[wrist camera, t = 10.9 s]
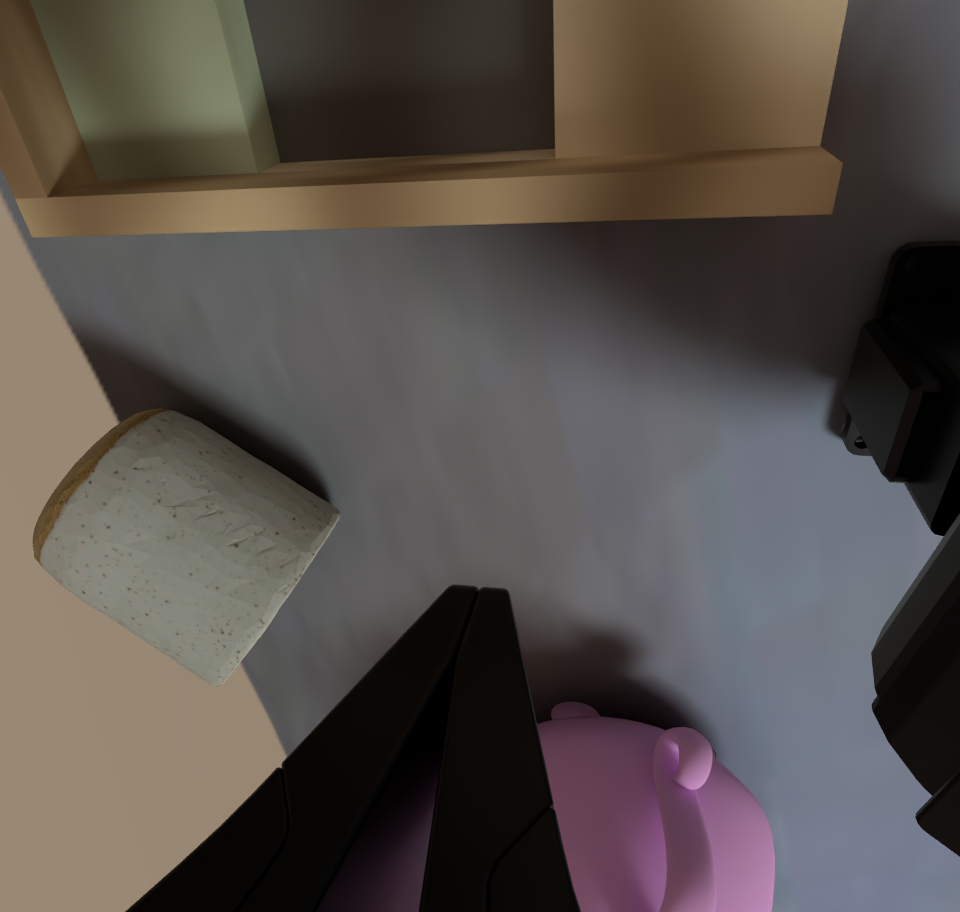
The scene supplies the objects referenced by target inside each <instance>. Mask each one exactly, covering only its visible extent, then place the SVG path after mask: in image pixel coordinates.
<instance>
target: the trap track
mask: <svg viewBox="0 0 960 912" xmlns="http://www.w3.org/2000/svg"><path fill="white" fill-rule="evenodd" d="M847 5H848V0H0V167H1V169H2V171H3V173H4V176H5V178H6V180H7V182H8V184H9V187H10V189H11V191H12V193H13V195H14V198H15V200H16V202H17V204H18V207H19V209H20V211H21V213H22V215H23V218H24V220H25V222H26V224H27V226H28V229H29V231H30V233H31V235H32V237H67V236H101V235H136V234H170V233H205V232H239V231H274V230H308V229H343V228H377V227H412V226H447V225H481V224H516V223H550V222H585V221H619V220H654V219H688V218H723V217H757V216H792V215H826V214H832V213H833V208H834V203H835V199H836V194H837V190H838V185H839V180H840V176H841V171H842V166H843V163H842V162H841V161H840V160H838V159H837V158H836V157H834V156H833V155H832V154H830V153H829V152H828V151H826V150H825V149H824V148H822V147H821V146H820V144H821V139H822V134H823V129H824V124H825V118H826V113H827V108H828V103H829V98H830V93H831V88H832V82H833V77H834V72H835V67H836V62H837V57H838V52H839V46H840V41H841V36H842V31H843V26H844V21H845V15H846V10H847Z"/></svg>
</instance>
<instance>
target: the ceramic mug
mask: <svg viewBox="0 0 960 912" xmlns="http://www.w3.org/2000/svg"><path fill="white" fill-rule="evenodd" d="M339 519H340V511H339V510H338V509H336V508H335V507H334V506H332V505H331V504H330V503H328V502H326V501H325V500H323V499H321V498H320V497H318V496H316V495H315V494H313V493H312V492H310V491H308V490H307V489H305V488H304V487H302V486H300V485H299V484H297V483H296V482H294V481H293V480H291V479H290V478H288V477H286V476H285V475H283V474H282V473H280V472H279V471H277V470H276V469H274V468H272V467H271V466H269V465H267V464H266V463H264V462H262V461H261V460H259V459H257V458H255V457H254V456H252V455H250V454H249V453H247V452H246V451H244V450H243V449H241V448H240V447H238V446H237V445H235V444H234V443H232V442H231V441H229V440H227V439H226V438H224V437H223V436H221V435H220V434H218V433H216V432H215V431H213V430H212V429H210V428H208V427H207V426H205V425H204V424H202V423H201V422H199V421H197V420H194V419H192V418H190V417H188V416H185V415H183V414H181V413H178V412H175V411H172V410H169V409H163V408H156V409H151V410H147V411H143V412H139V413H135V414H134V415H132V416H130V417H129V418H127V419H125V420H124V421H123V422H121V423H120V424H118V425H117V426H115V427H114V428H113V429H111V430H110V431H109V432H108V433H107V434H105V435H104V436H103V437H102V438H101V439H100V440H99V441H97V442H96V443H95V444H94V445H93V446H92V447H91V448H90V449H89V450H88V451H87V452H86V453H85V454H84V456H83V457H82V458H81V459H80V460H79V461H78V462H77V463H76V464H75V465H74V466H73V467H72V469H71V470H70V471H69V472H68V474H67V475H66V476H65V477H64V479H63V480H62V481H61V483H60V484H59V486H58V487H57V488H56V489H55V491H54V492H53V494H52V495H51V497H50V498H49V500H48V502H47V503H46V505H45V507H44V509H43V511H42V512H41V514H40V516H39V518H38V521H37V523H36V526H35V529H34V535H33V549H34V557H35V559H36V560H37V561H38V562H39V563H40V565H41V566H42V567H43V568H44V569H45V570H46V571H47V572H48V573H49V574H50V575H51V576H52V577H53V578H54V579H55V580H56V581H57V582H58V583H59V584H60V585H62V586H63V587H64V588H65V589H67V590H68V591H69V592H71V593H72V594H74V595H75V596H76V597H78V598H79V599H81V600H82V601H83V602H85V603H86V604H88V605H89V606H91V607H93V608H95V609H97V610H98V611H100V612H102V613H104V614H105V615H107V616H108V617H110V618H112V619H113V620H114V621H116V622H117V623H119V624H120V625H122V626H123V627H125V628H126V629H128V630H129V631H131V632H132V633H134V634H135V635H137V636H138V637H140V638H141V639H143V640H144V641H146V642H147V643H149V644H150V645H151V646H153V647H155V648H156V649H157V650H159V651H161V652H162V653H164V654H165V655H167V656H168V657H170V658H171V659H173V660H174V661H176V662H177V663H179V664H180V665H181V666H183V667H185V668H186V669H188V670H189V671H191V672H192V673H194V674H195V675H197V676H198V677H200V678H201V679H203V680H204V681H206V682H207V683H209V684H211V685H214V686H219V685H221V684H223V683H224V682H226V681H227V679H228V678H229V676H230V675H231V674H232V673H233V671H234V669H236V668H237V667H238V665H239V663H240V662H241V661H242V659H243V658H244V657H245V656H246V654H247V653H248V652H249V651H250V649H251V648H252V647H253V646H254V644H255V643H256V642H257V640H258V639H259V638H260V637H261V635H262V634H263V632H264V631H265V630H266V628H267V627H268V625H269V624H270V623H271V621H272V620H273V618H274V616H275V615H276V613H277V612H278V610H279V608H280V607H281V605H282V604H283V603H284V601H285V600H286V599H287V598H288V596H289V595H290V593H291V592H292V590H293V589H294V587H295V586H296V584H297V583H298V581H299V580H300V578H301V577H302V575H303V573H304V572H305V570H306V569H307V568H308V566H309V565H310V563H311V562H312V561H313V559H314V558H315V556H316V554H317V553H318V551H319V550H320V548H321V547H322V545H323V544H324V543H325V541H326V539H327V538H328V536H329V535H330V532H331V531H332V530H333V528H334V527H335V526H336V523H337V522H338V520H339Z"/></svg>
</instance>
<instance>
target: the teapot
mask: <svg viewBox="0 0 960 912" xmlns="http://www.w3.org/2000/svg"><path fill="white" fill-rule="evenodd" d="M551 717H552V720H550V721H545V722H542V723H539V724H537V726H538V731H539V736H540V740H541V745H542V750H543V754H544V759H545V764H546V769H547V773H548V778H549V783H550V788H551V792H552V797H553V802H554V809H555V811H556V814H557V819H558V824H559V829H560V833H561V838H562V843H563V847H564V851H565V855H566V859H567V863H568V867H569V871H570V875H571V879H572V883H573V887H574V891H575V894H576V897H577V900H578V903H579V907H580V910H581V912H772V904H773V894H774V879H775V854H774V846H773V838H772V833H771V828H770V824H769V822H768V820H767V818H766V816H765V814H764V812H763V810H762V808H761V806H760V805H759V803H758V802H757V800H756V799H755V797H754V796H753V795H752V793H751V792H750V791H749V790H748V789H747V788H746V787H745V786H744V785H743V784H742V783H741V782H740V781H739V780H738V779H737V778H736V777H735V776H734V775H733V774H732V773H731V772H730V771H729V770H728V769H727V768H726V767H724V766H723V765H722V764H721V763H720V762H718V761H717V760H716V759H715V758H716V753H715V751H714V749H713V748H712V747H711V746H710V744H709V742H708V741H707V739H706V738H705V737H704V736H703V735H702V734H700V733H699V732H698V731H696V730H694V729H692V728H687V727H675V728H671V729H668V730H664V729H661V728H658V727H655V726H651V725H648V724H644V723H641V722H636V721H631V720H626V719H620V718H612V717H600V715H599V714H598V712H597V711H596V710H595V709H593V708H592V707H590V706H589V705H586V704H584V703H580V702H563V703H560V704H557V705H556V706H555V707H554V708H553V709H552V711H551Z"/></svg>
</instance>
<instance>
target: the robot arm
mask: <svg viewBox="0 0 960 912" xmlns="http://www.w3.org/2000/svg"><path fill="white" fill-rule="evenodd" d="M915 256H921V262H920V264H919V265H918V266H917V267H916V268H914V269H911V270H905V264H906V263H907V261H908V260H909V259H911V258H912V257H915ZM843 402H844V404H845V406H846V408H847V410H848V416H847V420H846V423H845V427H844V431H843V434H842V440H843V442H844V444H845V446H846V448H847V450H848V451H849V452H851V453H852V454H855V455H862V456H872V457H873V459H874V461H875V463H876V464H877V466H878V468H879V470H880V472H881V474H882V475H883V476H884V477H885V478H886V479H887V480H888V481H889V482H896V483H904V484H905V486H906V487H907V489H908V491H909V493H910V494H911V496H912V498H913V500H914V502H915V503H916V505H917V507H918V509H919V510H920V512H921V514H922V516H923V517H924V519H925V521H926V523H927V524H928V526H929V528H930V530H931V531H932V532H933V533H934V534H937V535H940V536H944V537H943V539H942V540H941V542H940V543H939V545H938V546H937V548H936V549H935V551H934V552H933V554H932V555H931V557H930V558H929V560H928V561H927V563H926V564H925V566H924V567H923V569H922V570H921V571H920V573H919V574H918V576H917V577H916V579H915V580H914V582H913V583H912V585H911V586H910V588H909V589H908V591H907V592H906V594H905V595H904V597H903V598H902V600H901V601H900V603H899V604H898V606H897V607H896V609H895V610H894V612H893V613H892V614H891V616H890V617H889V619H888V620H887V622H886V623H885V625H884V626H883V628H882V630H881V632H880V635H879V637H878V639H877V641H876V644H875V646H874V648H873V650H872V653H871V655H872V665H873V675H874V685H875V690H876V693H877V697H876V698H875V699H874V701H873V703H872V710H873V713H874V715H875V717H876V719H877V721H878V723H879V724H880V726H881V728H882V730H883V732H884V734H885V736H886V738H887V740H888V742H889V743H890V745H891V746H892V747H893V749H894V750H895V751H896V753H897V754H898V755H899V757H900V758H901V759H902V761H903V762H904V763H905V765H906V766H907V767H908V769H909V770H910V771H911V773H912V774H913V775H914V777H915V778H916V779H917V780H918V782H919V783H920V784H921V785H922V786H923V787H924V788H925V789H926V790H927V791H928V792H929V793H930V794H931V795H932V797H931V798H930V799H929V800H928V801H927V802H926V803H925V804H924V806H923V807H922V808H921V809H920V810H919V811H918V812H917V813H916V820H917V823H918V824H919V825H920V827H921V828H922V829H923V830H924V831H926V832H927V833H928V834H930V835H931V836H932V837H934V838H935V839H936V840H938V841H939V842H940V843H942V844H943V845H945V846H946V847H947V848H949V849H950V850H951V851H953V852H954V853H956V854H957V855H958V856H960V241H930V242H912V243H907V244H906V245H904V246H902V247H900V248H899V249H898V250H897V251H896V252H895V253H894V254H893V256H892V258H891V260H890V262H889V266H888V270H887V273H886V277H885V281H884V284H883V288H882V292H881V295H880V299H879V303H878V306H877V310H876V314H875V317H874V318H871V319H870V320H869V321H867V322H866V323H865V324H864V325H863V326H862V328H861V332H860V336H859V340H858V343H857V347H856V351H855V355H854V359H853V362H852V366H851V370H850V374H849V378H848V381H847V385H846V389H845V393H844V396H843ZM859 436H862V438H863V440H864V441H861V442H856V441H855V440H856V438H858V437H859ZM126 912H581V910H580V907H579V903H578V900H577V897H576V894H575V891H574V887H573V883H572V879H571V875H570V871H569V867H568V863H567V859H566V855H565V851H564V847H563V843H562V838H561V833H560V829H559V824H558V819H557V814H556V811H555V809H554V802H553V797H552V792H551V788H550V783H549V778H548V773H547V769H546V764H545V759H544V754H543V750H542V745H541V740H540V736H539V731H538V726H537V721H536V717H535V712H534V707H533V703H532V698H531V693H530V688H529V684H528V679H527V674H526V670H525V665H524V660H523V655H522V651H521V646H520V641H519V636H518V632H517V627H516V622H515V618H514V613H513V608H512V603H511V599H510V594H509V592H508V590H506V589H502V588H490V587H483V588H481V589H480V590H479V588H477V587H475V586H466V585H451V586H449V587H448V588H447V589H446V590H445V591H444V592H443V593H442V594H441V595H440V596H439V597H438V598H437V600H436V601H435V602H434V603H433V604H432V605H431V606H430V607H429V608H428V609H427V610H426V611H425V612H424V613H423V614H422V615H421V616H420V618H419V619H418V620H417V621H416V622H415V623H414V624H413V625H412V626H411V627H410V628H409V629H408V630H407V631H406V632H405V633H404V634H403V635H402V637H401V638H400V639H399V640H398V641H397V642H396V643H395V644H394V645H393V646H392V647H391V648H390V649H389V650H388V651H387V652H386V653H385V655H384V656H383V657H382V658H381V659H380V660H379V661H378V662H377V663H376V664H375V665H374V666H373V667H372V668H371V669H370V670H369V671H368V672H367V674H366V675H365V676H364V677H363V678H362V679H361V680H360V681H359V682H358V683H357V684H356V685H355V686H354V687H353V688H352V689H351V690H350V692H349V693H348V694H347V695H346V696H345V697H344V698H343V699H342V700H341V701H340V702H339V703H338V704H337V705H336V706H335V707H334V708H333V709H332V711H331V712H330V713H329V714H328V715H327V716H326V717H325V718H324V719H323V720H322V721H321V722H320V723H319V724H318V725H317V726H316V727H315V729H314V730H313V731H312V732H311V733H310V734H309V735H308V736H307V737H306V738H305V739H304V740H303V741H302V742H301V743H300V744H299V745H298V746H297V748H296V749H295V750H294V751H293V752H292V753H291V754H290V755H289V756H288V757H287V758H286V759H285V760H284V761H283V763H282V768H276V769H275V770H274V772H273V773H272V774H271V775H270V776H269V777H268V778H267V779H266V780H265V781H264V782H263V783H262V784H261V785H260V786H259V787H258V788H257V790H256V791H255V792H254V793H253V794H252V795H251V796H250V797H249V798H248V799H247V800H246V801H245V802H244V803H243V804H242V805H241V806H240V807H239V808H238V809H237V810H236V811H235V812H234V813H233V814H232V815H231V816H230V817H229V818H228V819H227V820H226V821H225V822H224V823H223V824H222V825H221V826H220V827H219V828H218V829H216V830H215V831H214V832H213V833H212V834H211V835H210V836H209V837H208V838H207V839H206V840H205V841H203V842H202V843H201V844H200V845H199V846H198V847H197V848H196V849H195V850H194V851H193V852H192V853H191V854H189V855H188V856H187V857H186V858H185V859H184V860H183V861H182V862H181V863H180V864H179V865H177V866H176V867H175V868H174V869H173V870H172V871H171V872H170V873H168V874H167V875H166V876H165V877H164V878H163V879H162V880H161V881H159V882H158V883H157V884H156V885H155V886H154V887H153V888H151V889H150V890H149V891H148V892H147V893H146V894H145V895H143V896H142V897H141V898H140V899H139V900H138V901H137V902H136V903H135V904H134V905H132V906H131V907H130V908H129V909H128V910H127V911H126Z"/></svg>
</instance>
